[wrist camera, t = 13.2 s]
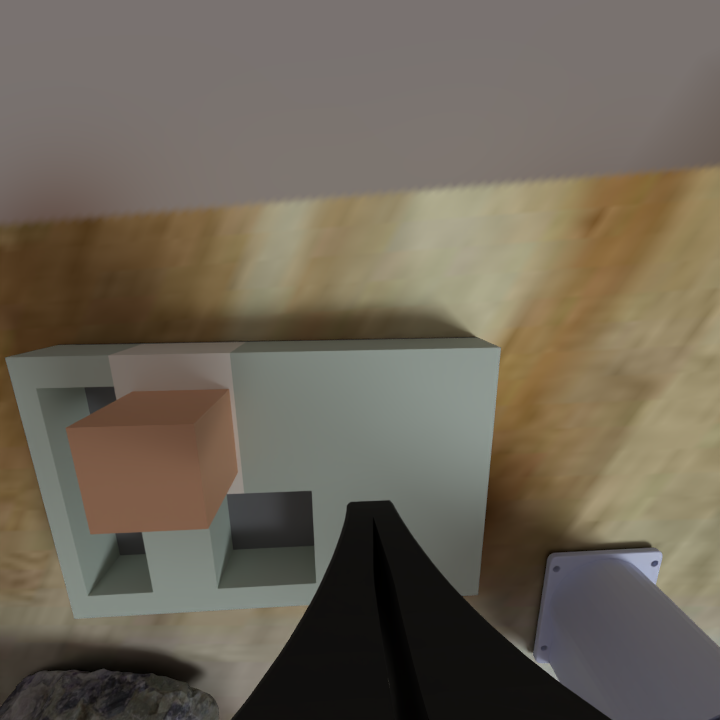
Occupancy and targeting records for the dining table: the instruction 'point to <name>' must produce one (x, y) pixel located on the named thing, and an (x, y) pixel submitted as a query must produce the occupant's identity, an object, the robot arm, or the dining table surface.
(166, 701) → the mineral rock
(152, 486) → the terracotta block
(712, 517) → the dining table surface
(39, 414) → the board
